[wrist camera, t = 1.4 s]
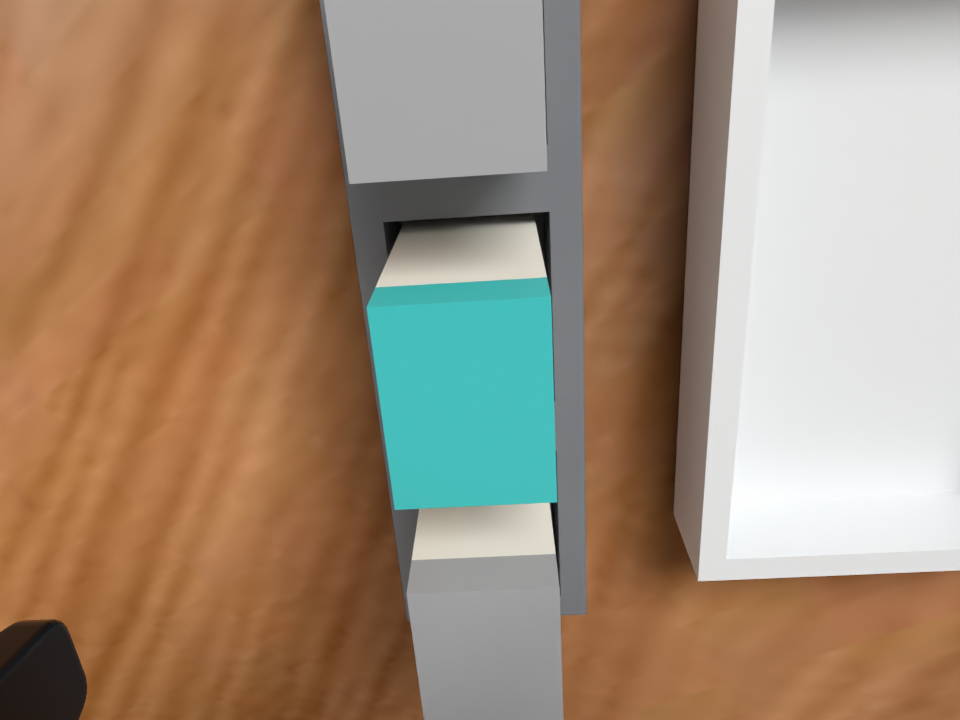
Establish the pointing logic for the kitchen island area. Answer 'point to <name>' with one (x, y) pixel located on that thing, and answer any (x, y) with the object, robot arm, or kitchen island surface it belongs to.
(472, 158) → the block
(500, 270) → the block
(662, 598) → the kitchen island surface
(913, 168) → the tray
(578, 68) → the fuse holder
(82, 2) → the kitchen island surface
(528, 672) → the fuse
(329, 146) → the kitchen island surface
